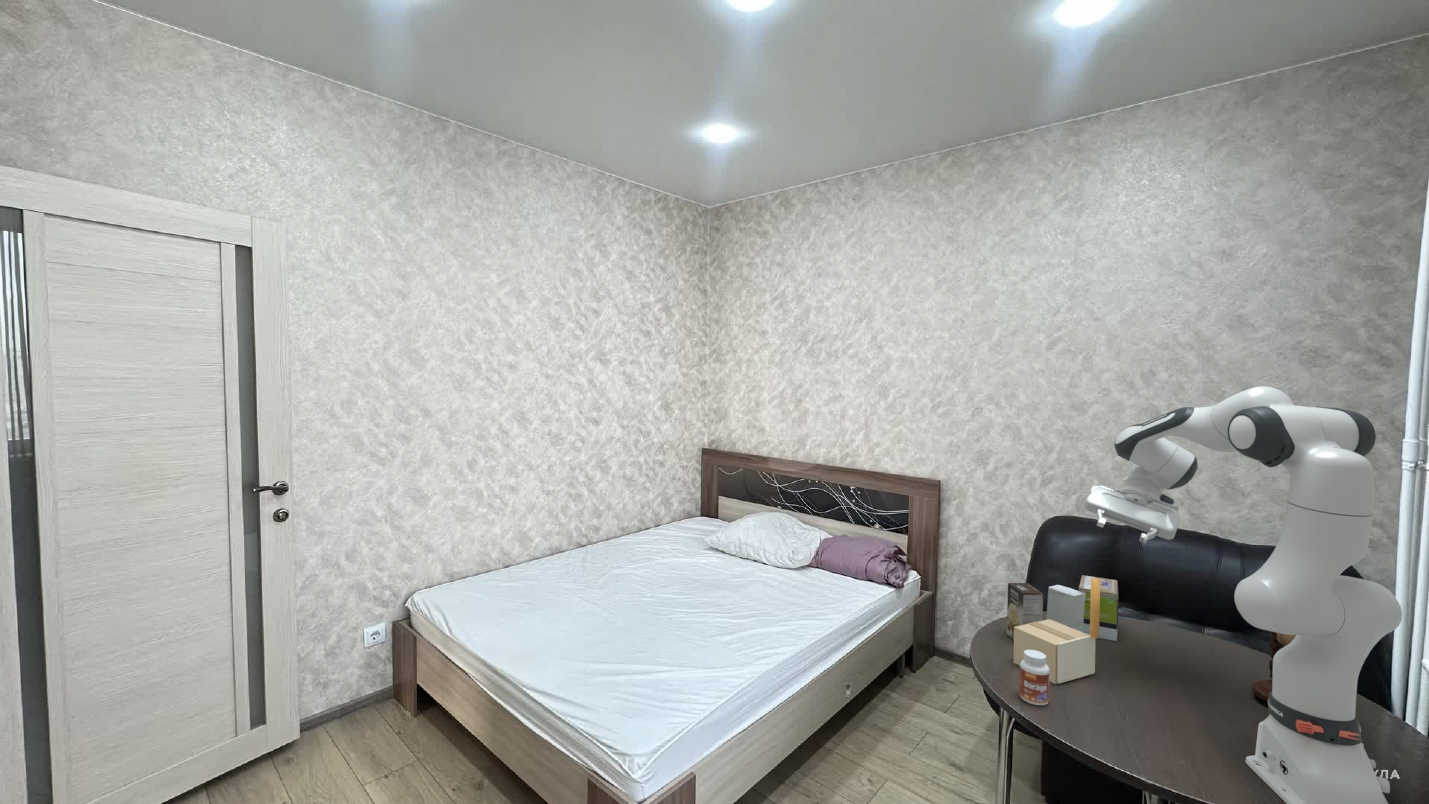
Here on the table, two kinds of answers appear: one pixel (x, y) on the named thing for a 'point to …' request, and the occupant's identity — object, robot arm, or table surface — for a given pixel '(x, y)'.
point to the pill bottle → (1034, 678)
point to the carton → (1043, 641)
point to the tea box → (1102, 607)
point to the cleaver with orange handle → (1080, 645)
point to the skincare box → (1066, 606)
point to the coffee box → (1023, 606)
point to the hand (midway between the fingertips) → (1120, 533)
